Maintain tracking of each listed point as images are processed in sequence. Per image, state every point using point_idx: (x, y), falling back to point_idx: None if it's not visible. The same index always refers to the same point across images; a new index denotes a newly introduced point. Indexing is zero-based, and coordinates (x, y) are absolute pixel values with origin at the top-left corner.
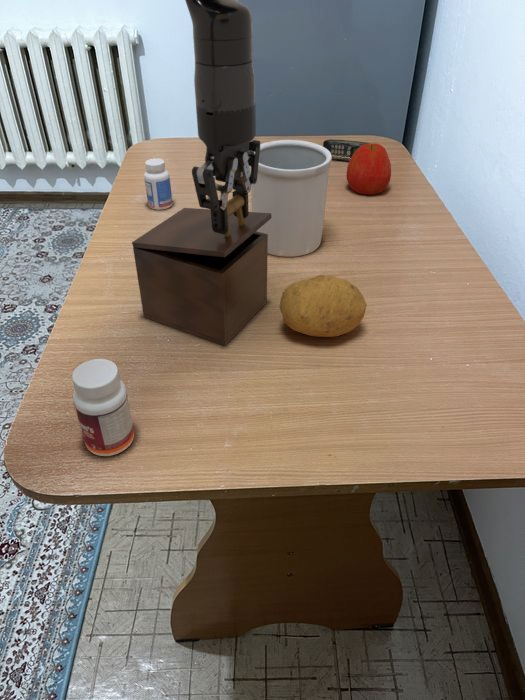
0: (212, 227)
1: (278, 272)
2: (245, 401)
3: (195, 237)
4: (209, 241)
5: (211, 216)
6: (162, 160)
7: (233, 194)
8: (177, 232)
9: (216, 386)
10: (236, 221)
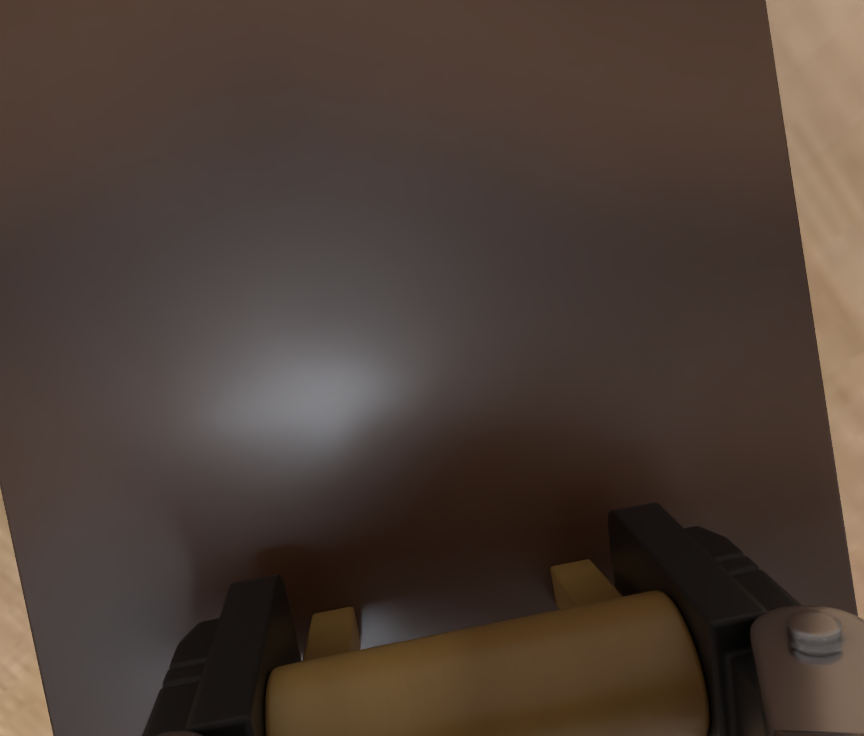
0: (185, 644)
1: (833, 277)
2: (41, 722)
3: (198, 364)
4: (182, 557)
5: (149, 723)
6: None
7: (699, 620)
8: (215, 101)
9: (21, 600)
10: (614, 485)
